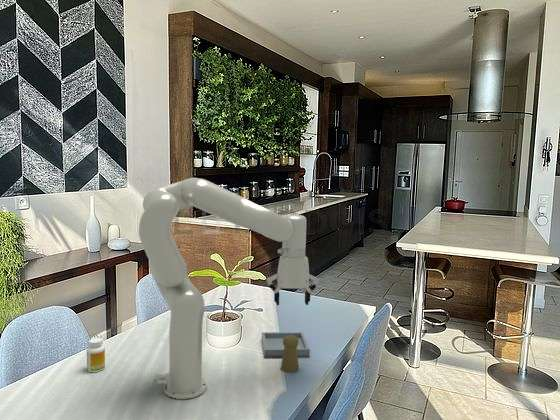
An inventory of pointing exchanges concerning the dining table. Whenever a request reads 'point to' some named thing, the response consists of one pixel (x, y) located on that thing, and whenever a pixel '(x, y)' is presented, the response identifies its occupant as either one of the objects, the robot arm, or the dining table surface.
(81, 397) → the dining table surface
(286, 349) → the cork
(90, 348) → the supplement bottle
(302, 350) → the tray
